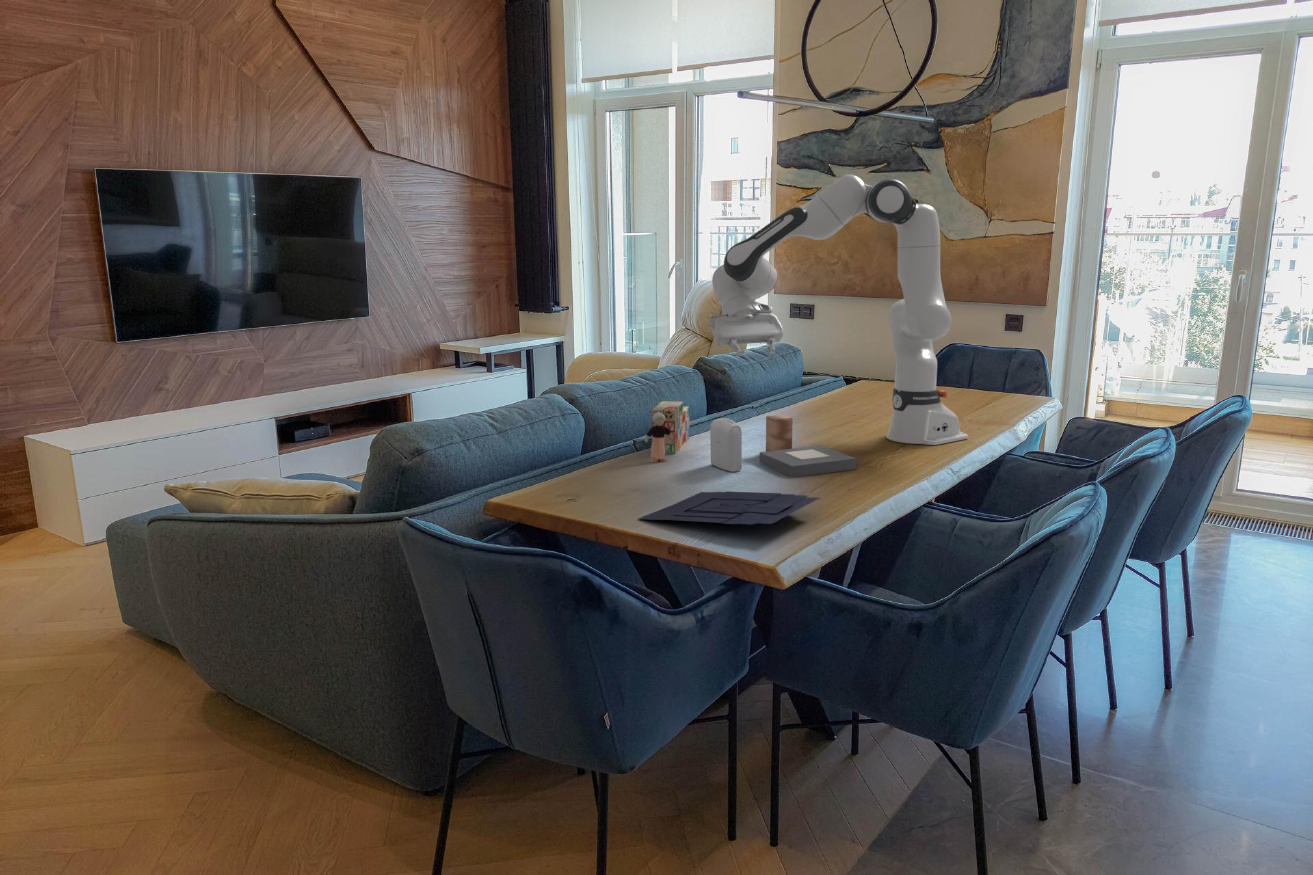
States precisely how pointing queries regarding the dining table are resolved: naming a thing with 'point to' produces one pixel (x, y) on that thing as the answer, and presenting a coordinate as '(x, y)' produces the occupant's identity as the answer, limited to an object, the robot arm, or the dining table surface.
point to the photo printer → (726, 445)
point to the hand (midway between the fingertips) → (756, 353)
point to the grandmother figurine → (658, 438)
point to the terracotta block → (778, 432)
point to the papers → (733, 507)
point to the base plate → (807, 461)
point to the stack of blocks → (674, 424)
